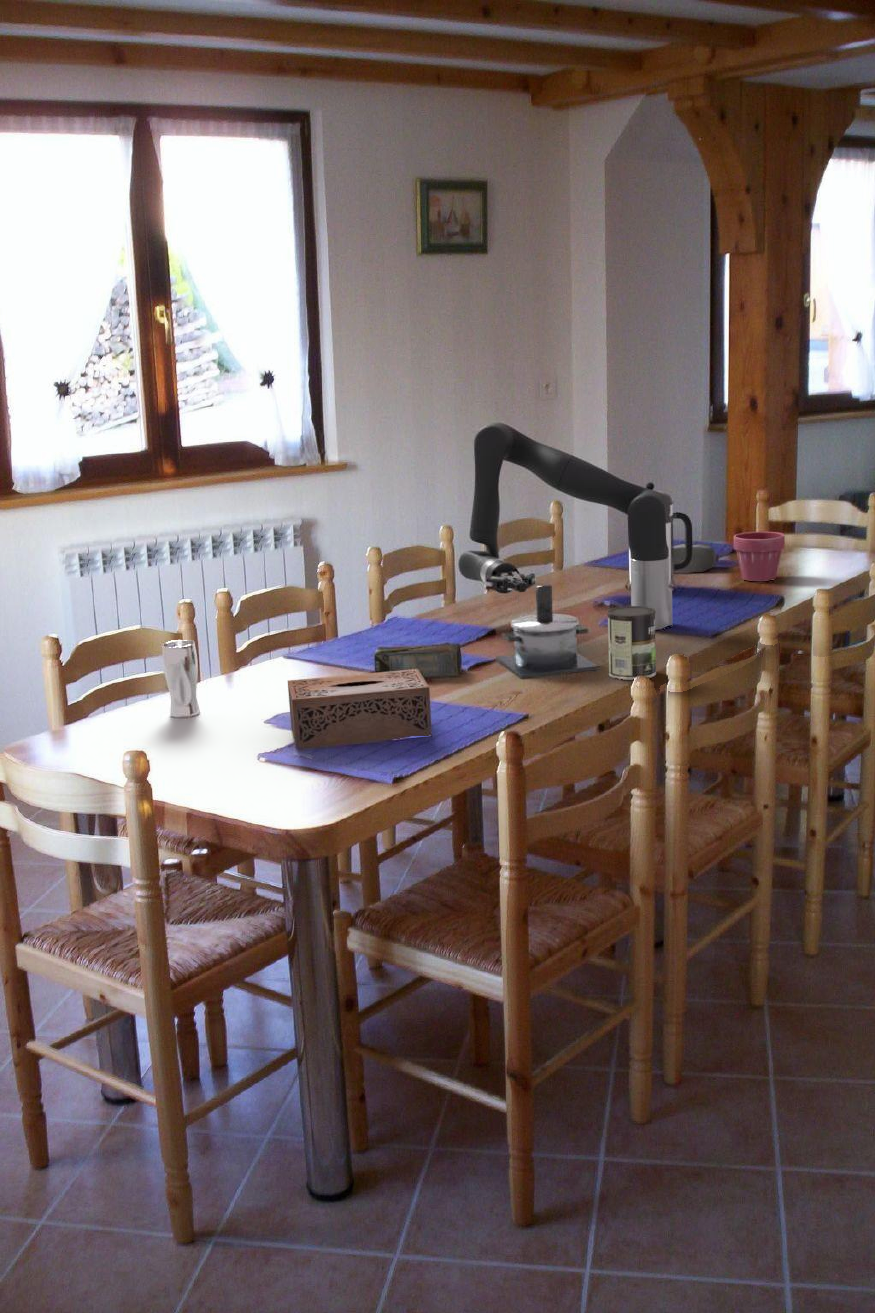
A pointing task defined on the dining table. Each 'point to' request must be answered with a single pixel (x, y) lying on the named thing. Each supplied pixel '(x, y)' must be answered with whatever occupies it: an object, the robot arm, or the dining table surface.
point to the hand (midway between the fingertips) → (522, 587)
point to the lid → (544, 615)
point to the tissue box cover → (359, 708)
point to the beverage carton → (420, 659)
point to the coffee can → (631, 642)
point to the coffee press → (670, 539)
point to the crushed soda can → (181, 677)
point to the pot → (545, 653)
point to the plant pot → (759, 554)
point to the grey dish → (695, 558)
